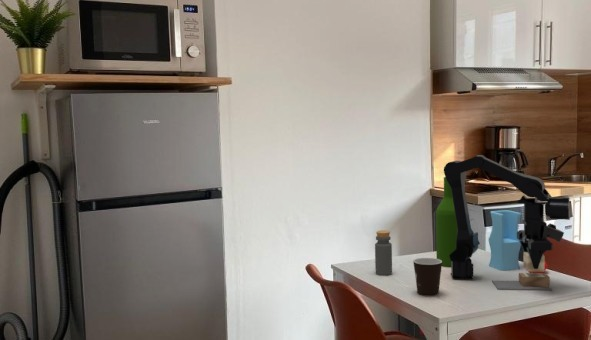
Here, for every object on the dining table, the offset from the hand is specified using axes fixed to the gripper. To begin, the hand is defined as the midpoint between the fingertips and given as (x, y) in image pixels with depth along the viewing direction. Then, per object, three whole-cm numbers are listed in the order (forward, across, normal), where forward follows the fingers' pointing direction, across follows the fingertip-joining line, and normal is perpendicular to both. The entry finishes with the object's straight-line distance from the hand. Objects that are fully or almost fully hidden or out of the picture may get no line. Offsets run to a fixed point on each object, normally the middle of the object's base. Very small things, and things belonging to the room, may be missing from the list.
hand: (533, 266), depth 175 cm
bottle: (+6, +13, +47) cm, 49 cm away
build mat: (+6, 0, +4) cm, 7 cm away
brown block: (+6, 0, 0) cm, 6 cm away
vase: (+6, +23, +4) cm, 24 cm away
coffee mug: (+6, -8, +33) cm, 34 cm away
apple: (+6, +17, -5) cm, 19 cm away
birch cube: (+1, 0, 0) cm, 1 cm away
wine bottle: (+6, +27, +23) cm, 36 cm away
